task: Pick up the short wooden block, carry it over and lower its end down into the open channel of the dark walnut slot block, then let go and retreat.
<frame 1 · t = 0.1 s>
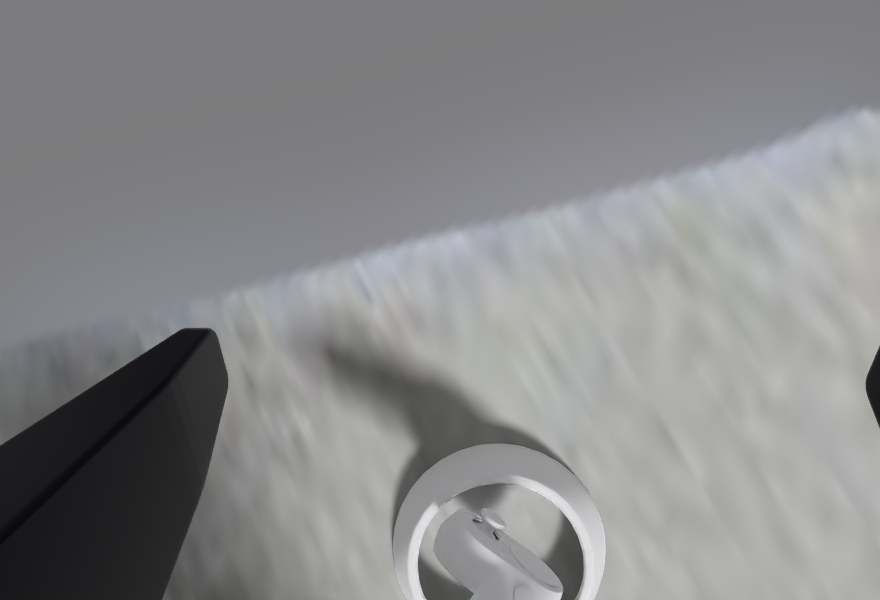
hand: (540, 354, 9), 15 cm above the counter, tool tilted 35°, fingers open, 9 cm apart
vr controller: (497, 546, 25), on the counter
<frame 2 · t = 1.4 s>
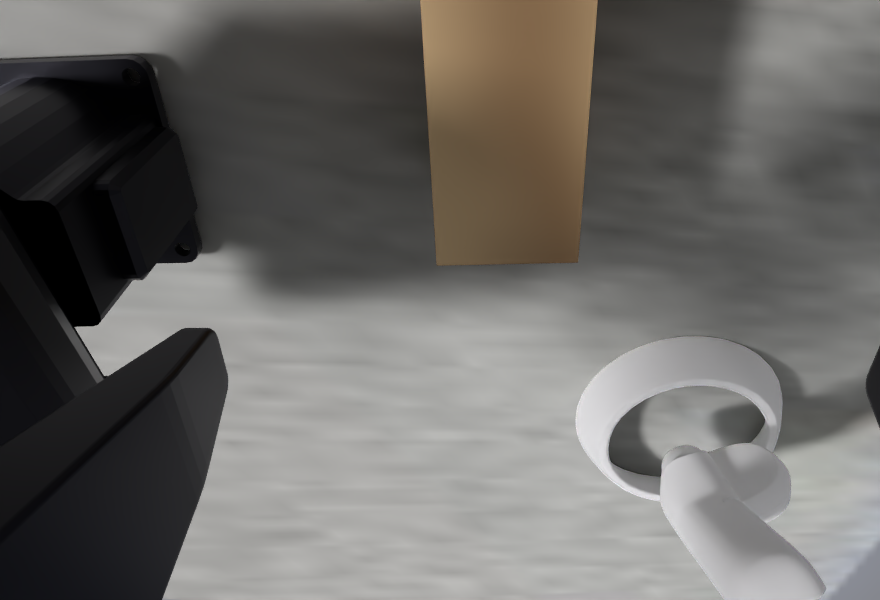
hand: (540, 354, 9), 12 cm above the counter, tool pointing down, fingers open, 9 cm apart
wooden block: (500, 8, 18), on the counter
vr controller: (674, 409, 26), on the counter
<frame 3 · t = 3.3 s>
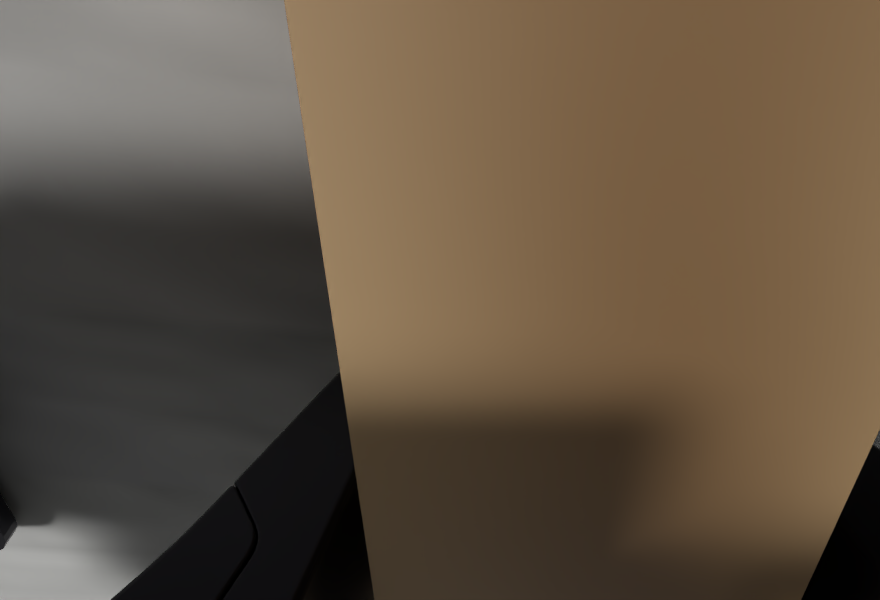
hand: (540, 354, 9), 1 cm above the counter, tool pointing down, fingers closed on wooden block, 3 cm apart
wooden block: (541, 183, 9), on the counter, touching gripper
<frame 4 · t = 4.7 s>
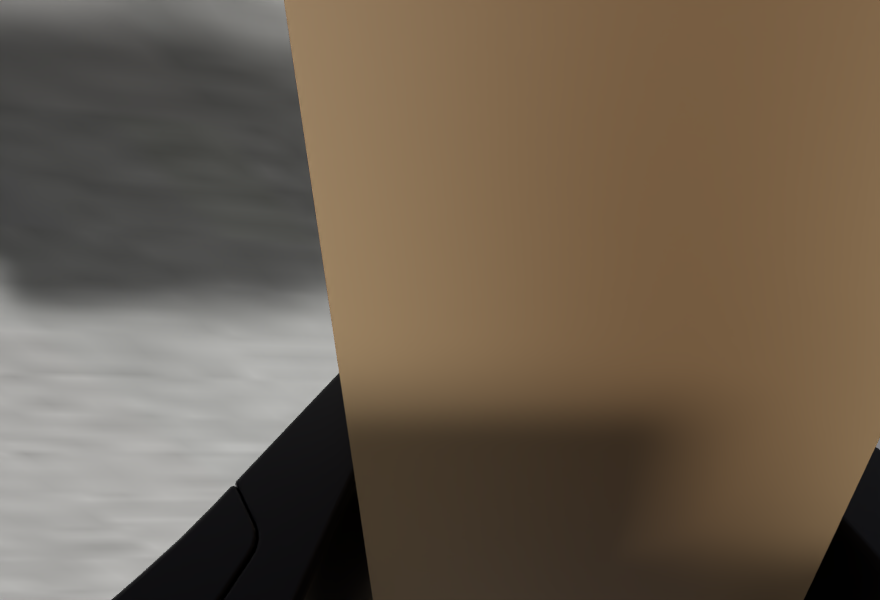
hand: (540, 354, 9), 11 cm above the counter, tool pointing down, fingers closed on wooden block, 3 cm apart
wooden block: (541, 183, 9), point 10 cm above the counter, touching gripper
when the fingers open (3 cm above the counter, at t = 6.1 s): wooden block drops 2 cm, on the counter.
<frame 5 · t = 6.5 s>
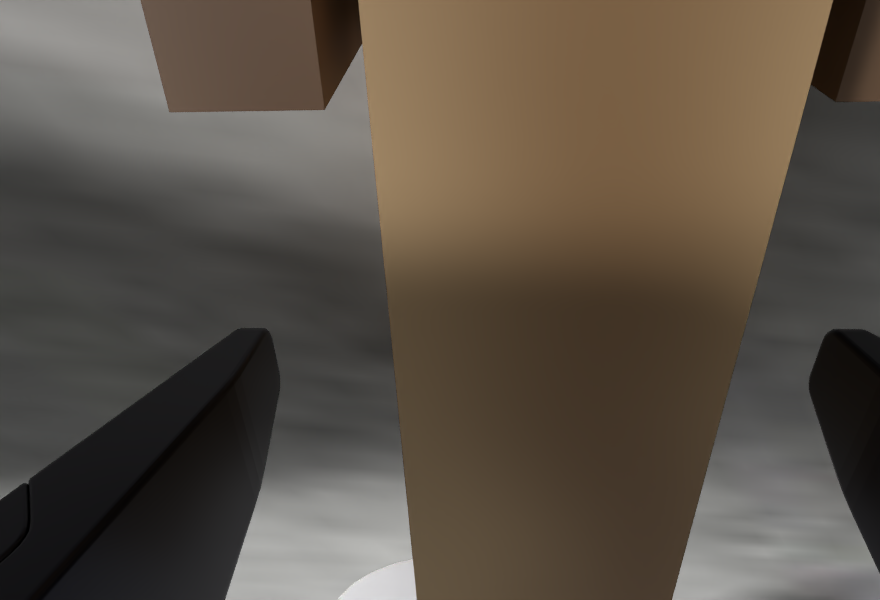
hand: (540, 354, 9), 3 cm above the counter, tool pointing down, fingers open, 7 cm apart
wooden block: (530, 134, 11), on the counter
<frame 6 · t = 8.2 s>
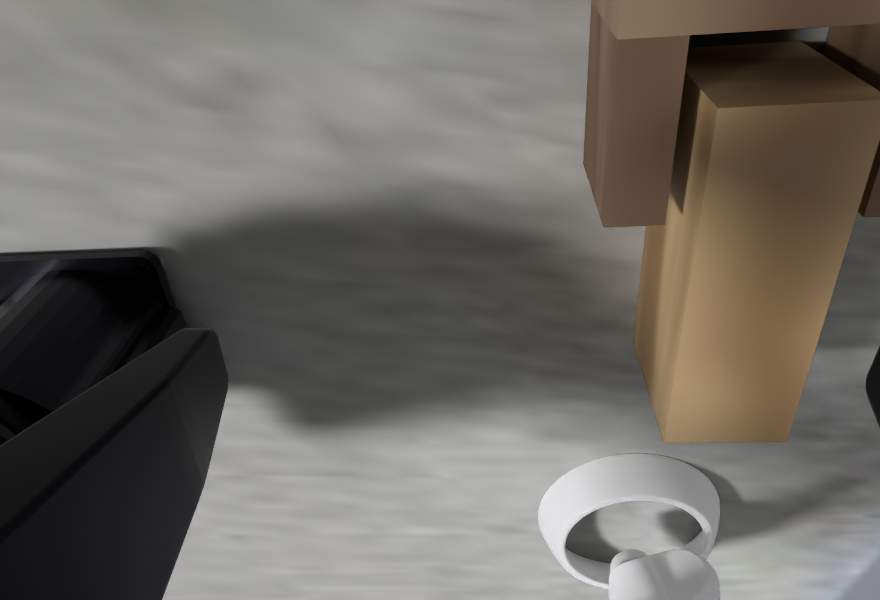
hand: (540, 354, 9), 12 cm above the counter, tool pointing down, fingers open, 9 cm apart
slot block: (730, 71, 18), on the counter
wooden block: (703, 210, 21), on the counter
vr controller: (626, 509, 29), on the counter
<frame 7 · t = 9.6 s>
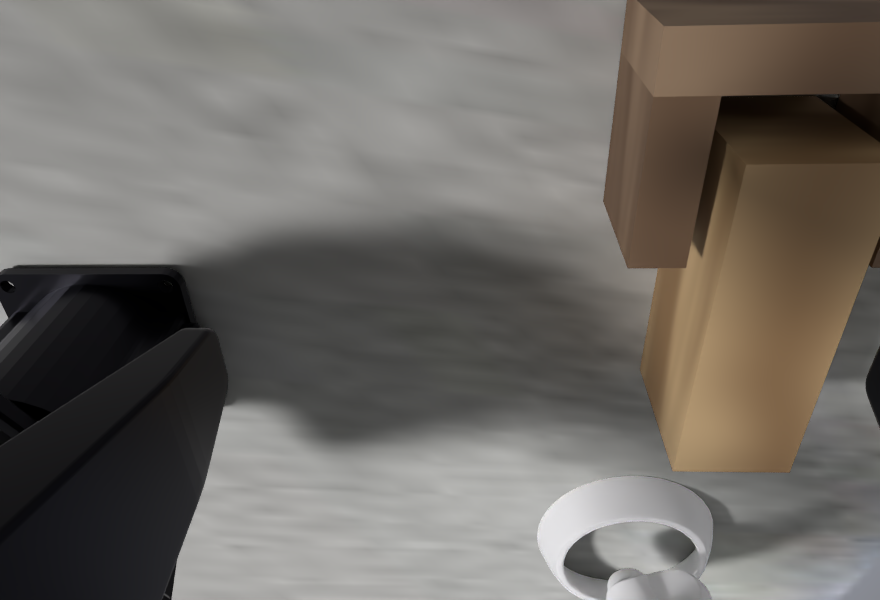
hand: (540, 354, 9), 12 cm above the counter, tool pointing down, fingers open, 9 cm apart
slot block: (748, 121, 19), on the counter
wooden block: (714, 248, 22), on the counter
vr controller: (622, 528, 30), on the counter
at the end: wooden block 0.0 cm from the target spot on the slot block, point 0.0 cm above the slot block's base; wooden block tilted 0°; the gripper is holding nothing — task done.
